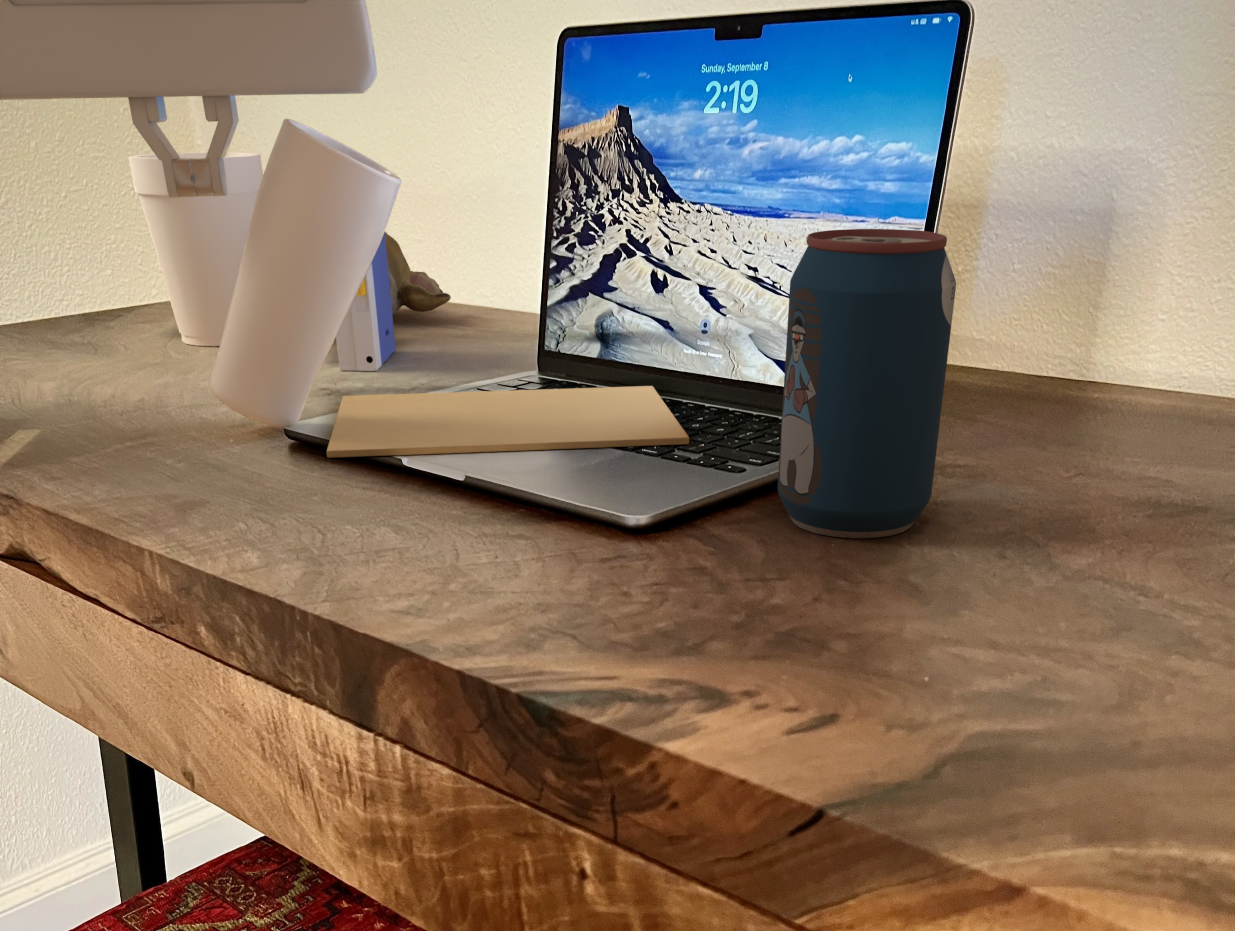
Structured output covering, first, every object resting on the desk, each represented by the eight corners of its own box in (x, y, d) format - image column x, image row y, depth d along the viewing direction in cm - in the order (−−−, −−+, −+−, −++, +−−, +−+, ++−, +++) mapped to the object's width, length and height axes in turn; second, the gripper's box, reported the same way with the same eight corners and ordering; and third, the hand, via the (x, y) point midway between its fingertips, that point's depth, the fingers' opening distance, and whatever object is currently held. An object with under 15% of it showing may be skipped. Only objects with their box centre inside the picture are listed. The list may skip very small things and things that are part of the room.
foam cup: (159, 352, 96) (124, 159, 89) (163, 332, 104) (131, 153, 97) (287, 345, 98) (262, 156, 92) (281, 326, 106) (258, 151, 99)
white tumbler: (169, 381, 71) (259, 106, 65) (232, 380, 77) (319, 128, 71) (272, 441, 70) (372, 170, 64) (327, 435, 77) (422, 187, 70)
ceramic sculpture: (382, 195, 112) (453, 220, 101) (390, 299, 117) (459, 332, 106) (265, 203, 107) (327, 229, 97) (278, 310, 112) (339, 346, 102)
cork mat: (327, 457, 69) (326, 450, 69) (343, 402, 81) (342, 395, 80) (689, 444, 71) (689, 437, 71) (652, 391, 83) (652, 385, 83)
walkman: (359, 350, 96) (341, 173, 90) (396, 350, 96) (379, 173, 90) (337, 371, 89) (315, 181, 83) (376, 371, 89) (357, 181, 83)
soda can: (950, 513, 59) (987, 231, 53) (890, 552, 54) (922, 247, 48) (817, 490, 63) (837, 223, 57) (749, 526, 58) (762, 238, 52)
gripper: (367, -116, 64) (395, 187, 71) (-50, -115, 62) (21, 196, 69) (361, -134, 59) (392, 195, 66) (-97, -134, 57) (-14, 205, 64)
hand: (198, 196), depth 68 cm, fingers closed
